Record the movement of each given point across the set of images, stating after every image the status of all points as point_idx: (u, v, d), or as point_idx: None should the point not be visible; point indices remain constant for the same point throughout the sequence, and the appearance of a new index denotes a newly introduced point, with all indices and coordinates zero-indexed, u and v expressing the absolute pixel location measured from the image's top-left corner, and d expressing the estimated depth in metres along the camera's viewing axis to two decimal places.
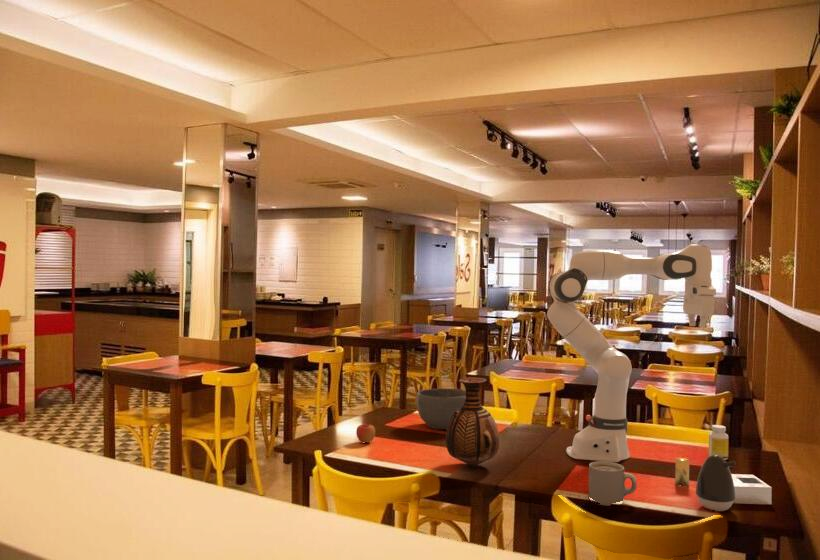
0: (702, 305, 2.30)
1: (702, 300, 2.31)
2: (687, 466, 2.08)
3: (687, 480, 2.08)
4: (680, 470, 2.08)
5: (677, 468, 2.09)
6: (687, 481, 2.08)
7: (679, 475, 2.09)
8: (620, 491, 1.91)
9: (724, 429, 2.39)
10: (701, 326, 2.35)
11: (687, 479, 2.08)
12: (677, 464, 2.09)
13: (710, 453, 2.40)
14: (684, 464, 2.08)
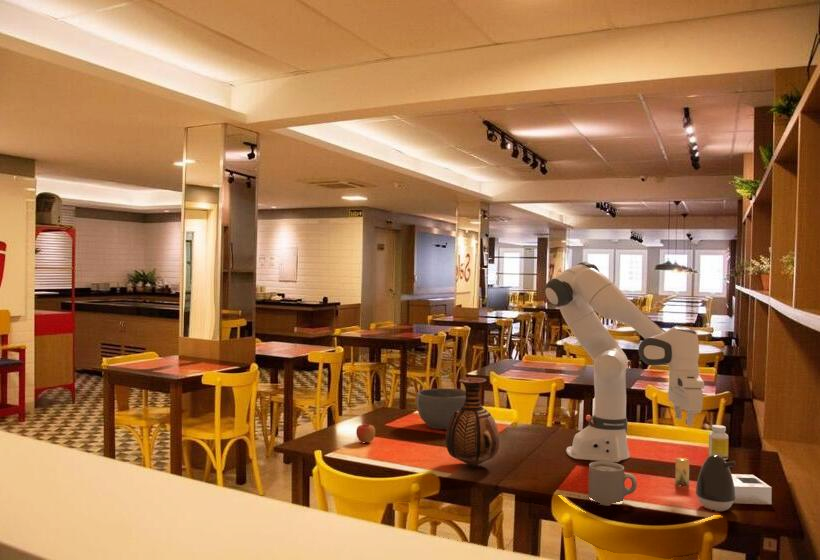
0: (688, 401, 2.01)
1: (688, 395, 2.01)
2: (687, 466, 2.08)
3: (687, 480, 2.08)
4: (680, 470, 2.08)
5: (677, 468, 2.09)
6: (687, 481, 2.08)
7: (679, 475, 2.09)
8: (620, 491, 1.91)
9: (724, 429, 2.39)
10: (688, 423, 2.05)
11: (687, 479, 2.08)
12: (677, 464, 2.09)
13: (710, 453, 2.40)
14: (684, 464, 2.08)
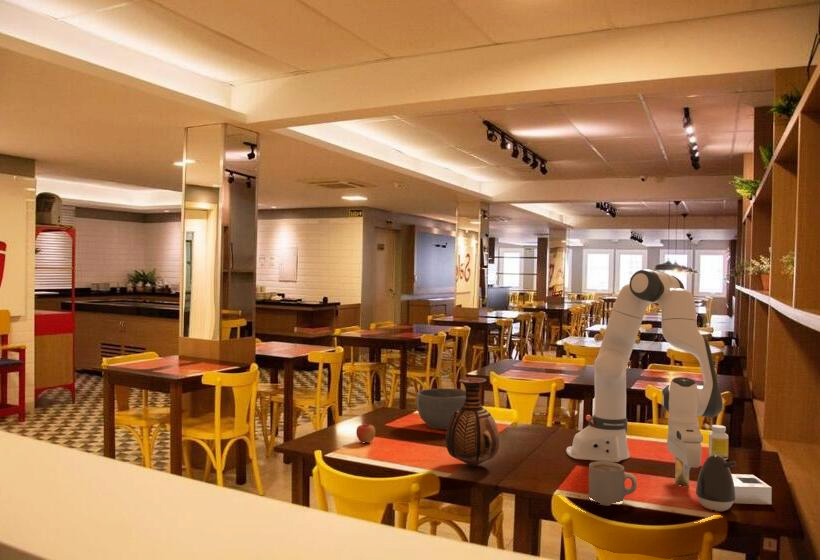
0: (687, 455, 2.00)
1: (687, 449, 2.01)
2: None
3: (687, 480, 2.08)
4: (680, 470, 2.08)
5: (677, 468, 2.09)
6: (687, 481, 2.08)
7: (679, 475, 2.09)
8: (620, 491, 1.91)
9: (724, 429, 2.39)
10: (684, 474, 2.07)
11: (687, 479, 2.08)
12: (677, 464, 2.09)
13: (710, 453, 2.40)
14: None
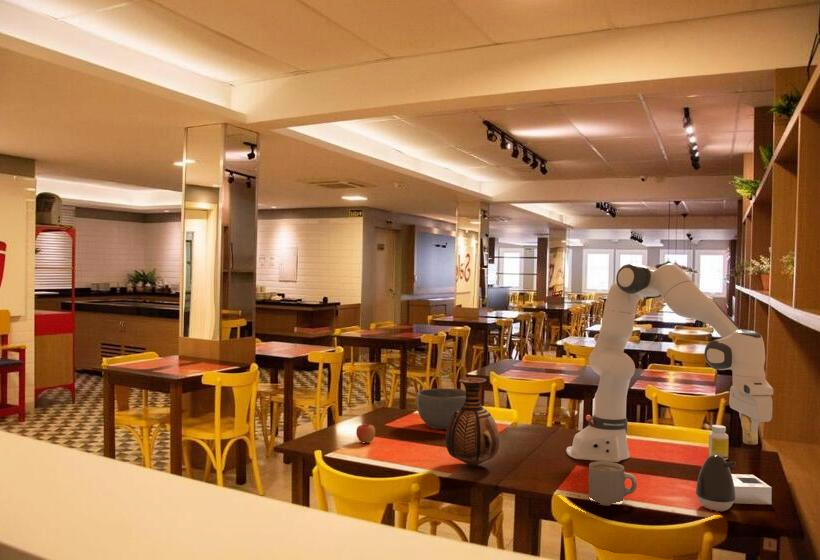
0: (757, 409, 1.90)
1: (757, 402, 1.90)
2: None
3: (756, 437, 1.98)
4: (748, 427, 1.98)
5: (745, 425, 1.98)
6: (756, 438, 1.98)
7: (748, 432, 1.98)
8: (620, 491, 1.91)
9: (724, 429, 2.39)
10: (753, 430, 1.96)
11: (756, 436, 1.98)
12: (745, 421, 1.99)
13: (710, 453, 2.40)
14: None
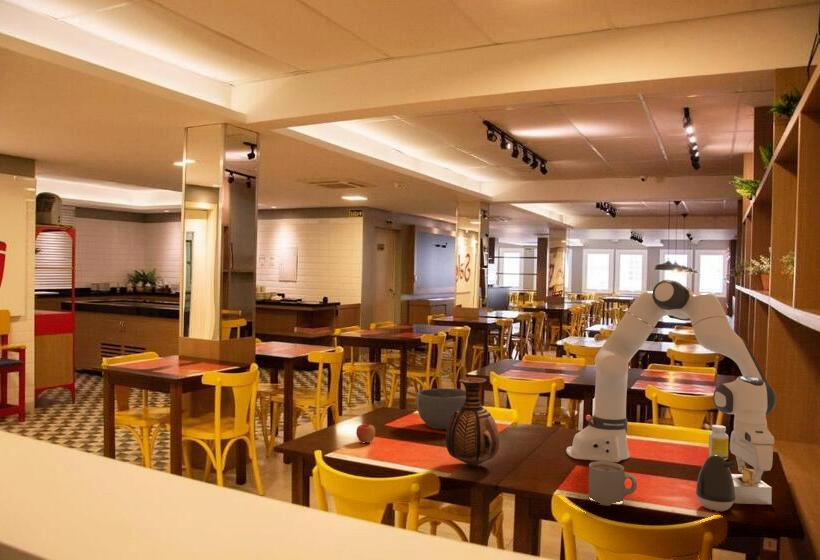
0: (758, 457, 1.89)
1: (758, 451, 1.90)
2: None
3: None
4: (748, 482, 1.98)
5: (745, 479, 1.98)
6: None
7: None
8: (620, 491, 1.91)
9: (724, 429, 2.39)
10: (755, 480, 1.94)
11: None
12: (745, 475, 1.98)
13: (710, 453, 2.40)
14: None
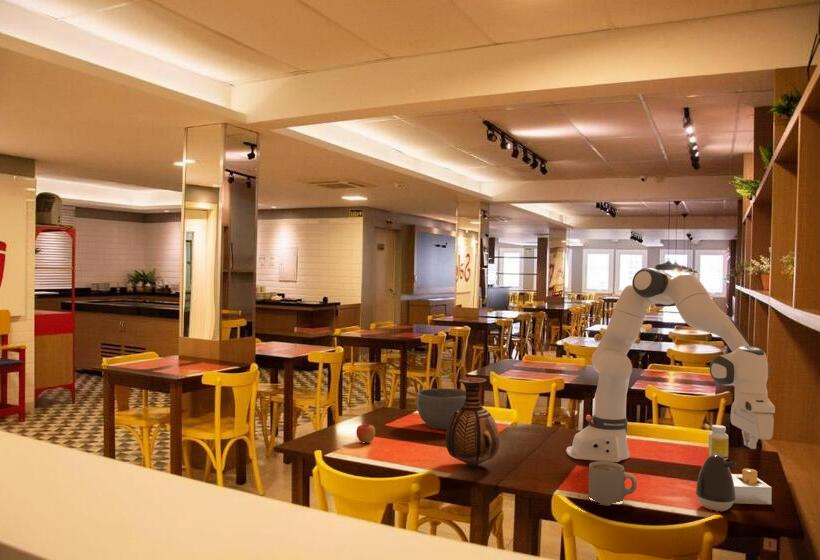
0: (758, 426, 1.89)
1: (758, 420, 1.89)
2: (755, 477, 1.97)
3: None
4: (748, 482, 1.98)
5: (745, 479, 1.98)
6: None
7: None
8: (620, 491, 1.91)
9: (724, 429, 2.39)
10: (751, 446, 1.97)
11: None
12: (745, 475, 1.98)
13: (710, 453, 2.40)
14: (752, 476, 1.97)
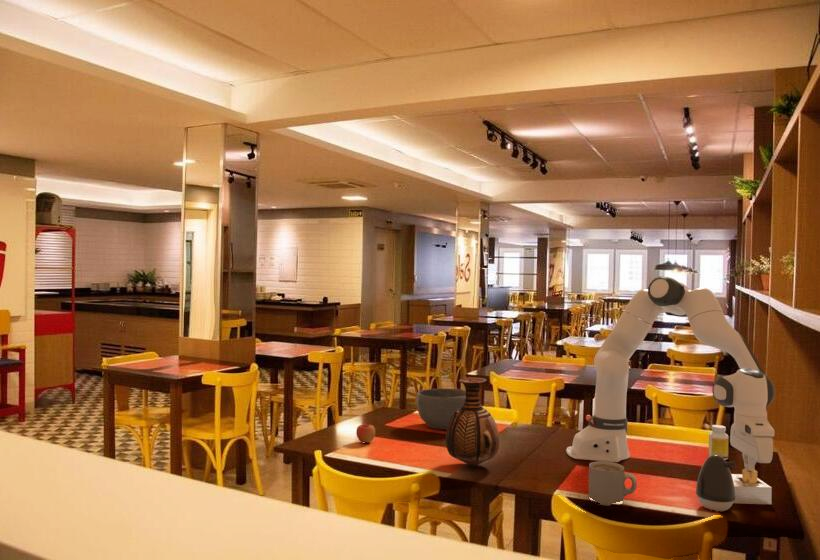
0: (758, 450, 1.89)
1: (758, 443, 1.90)
2: (755, 477, 1.97)
3: None
4: (748, 482, 1.98)
5: (745, 479, 1.98)
6: None
7: None
8: (620, 491, 1.91)
9: (724, 429, 2.39)
10: (749, 468, 1.98)
11: None
12: (745, 475, 1.98)
13: (710, 453, 2.40)
14: (752, 476, 1.97)
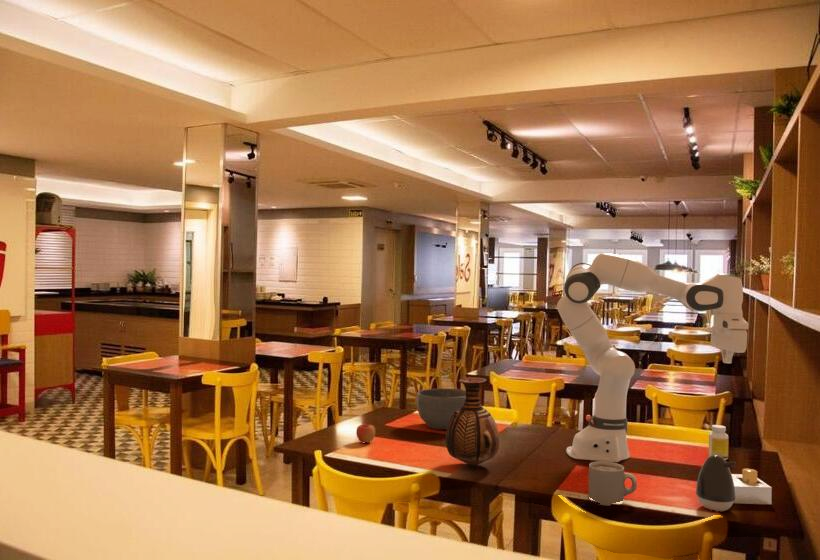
0: (734, 340, 2.13)
1: (734, 335, 2.13)
2: (755, 477, 1.97)
3: None
4: (748, 482, 1.98)
5: (745, 479, 1.98)
6: None
7: None
8: (620, 491, 1.91)
9: (724, 429, 2.39)
10: (727, 361, 2.21)
11: None
12: (744, 475, 1.98)
13: (710, 453, 2.40)
14: (752, 476, 1.97)
